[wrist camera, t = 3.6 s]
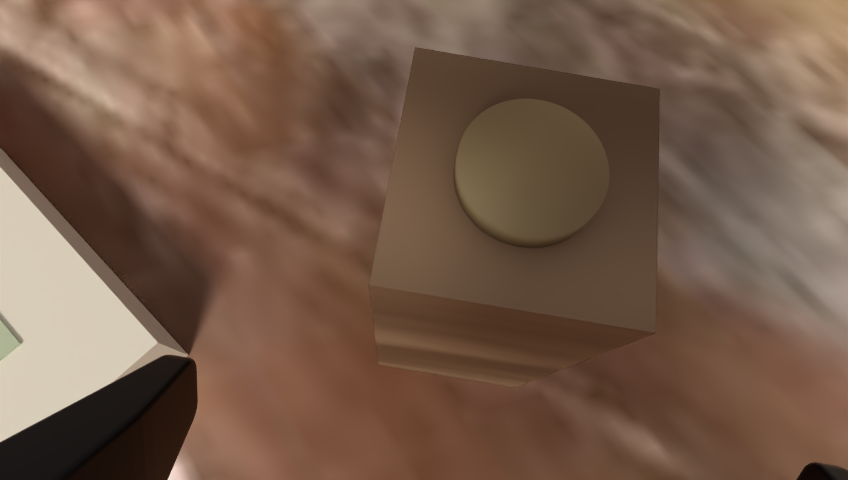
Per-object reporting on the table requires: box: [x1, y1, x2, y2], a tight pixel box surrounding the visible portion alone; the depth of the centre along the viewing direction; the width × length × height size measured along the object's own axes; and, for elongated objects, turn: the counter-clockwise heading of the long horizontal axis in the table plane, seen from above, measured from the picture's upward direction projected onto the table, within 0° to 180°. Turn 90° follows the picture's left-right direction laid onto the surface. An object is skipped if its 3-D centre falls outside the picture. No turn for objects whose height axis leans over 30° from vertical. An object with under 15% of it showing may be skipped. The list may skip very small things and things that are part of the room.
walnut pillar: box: [369, 47, 660, 388], centre depth 14 cm, size 4×4×10 cm
